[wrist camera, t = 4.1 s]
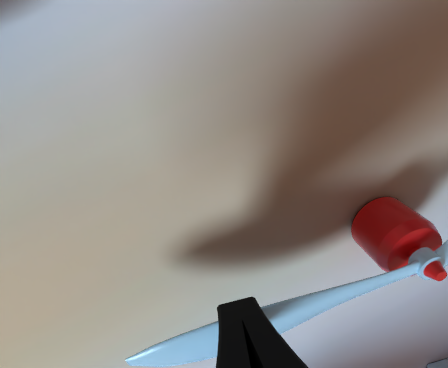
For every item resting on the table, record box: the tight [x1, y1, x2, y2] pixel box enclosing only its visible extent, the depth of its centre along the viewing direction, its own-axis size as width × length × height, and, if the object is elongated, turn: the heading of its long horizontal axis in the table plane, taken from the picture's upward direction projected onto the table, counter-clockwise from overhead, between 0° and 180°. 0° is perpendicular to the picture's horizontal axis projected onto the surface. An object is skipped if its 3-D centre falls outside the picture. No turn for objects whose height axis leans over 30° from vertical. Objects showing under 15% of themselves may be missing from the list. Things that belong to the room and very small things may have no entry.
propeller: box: [126, 197, 448, 367], centre depth 14 cm, size 4×25×4 cm, turn 103°
